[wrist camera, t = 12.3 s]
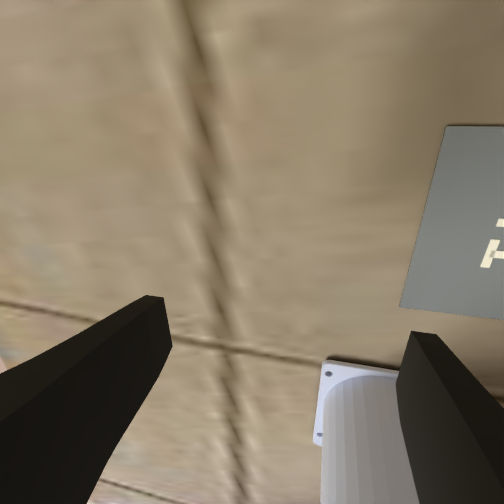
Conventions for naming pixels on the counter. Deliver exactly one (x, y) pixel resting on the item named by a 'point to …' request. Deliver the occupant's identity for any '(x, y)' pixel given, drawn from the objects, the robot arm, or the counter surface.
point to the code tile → (462, 229)
